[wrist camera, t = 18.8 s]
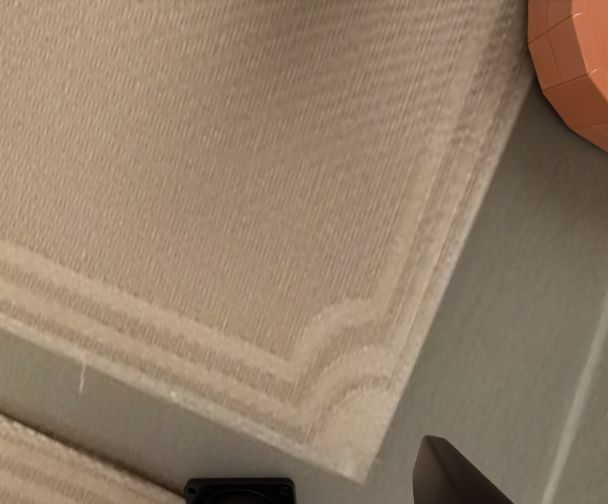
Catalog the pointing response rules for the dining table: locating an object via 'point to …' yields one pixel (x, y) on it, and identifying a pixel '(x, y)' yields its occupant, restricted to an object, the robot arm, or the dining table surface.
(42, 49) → the dining table surface
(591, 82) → the bowl
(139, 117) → the dining table surface
